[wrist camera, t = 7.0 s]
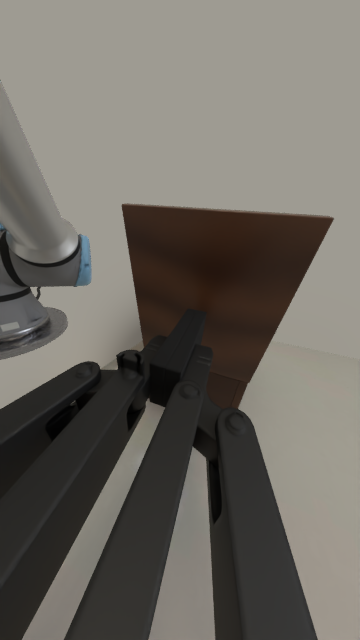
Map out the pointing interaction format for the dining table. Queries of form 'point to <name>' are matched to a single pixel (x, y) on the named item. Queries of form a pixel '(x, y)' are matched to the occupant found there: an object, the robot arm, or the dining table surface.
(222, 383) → the chest
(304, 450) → the dining table surface
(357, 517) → the dining table surface
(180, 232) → the lid
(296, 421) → the dining table surface
